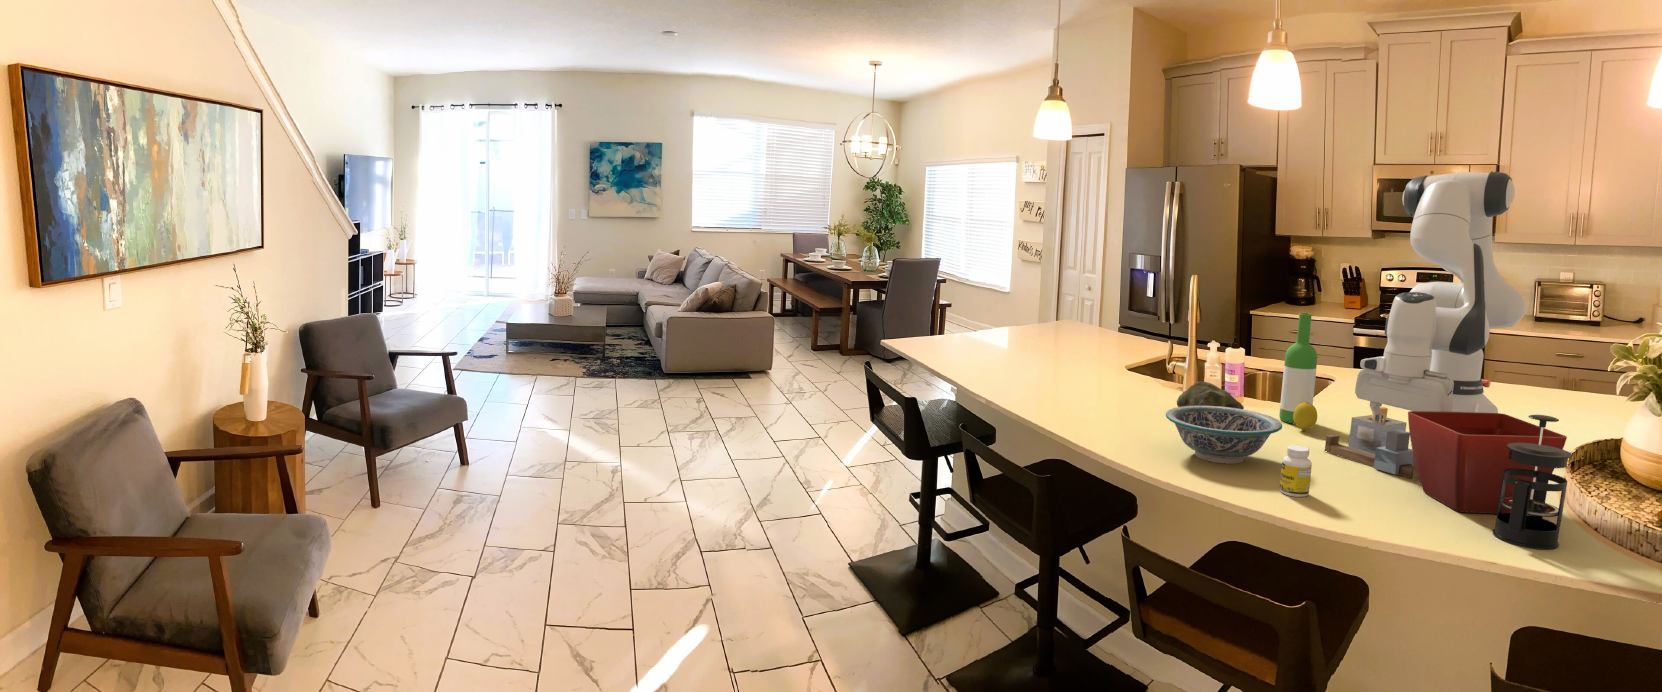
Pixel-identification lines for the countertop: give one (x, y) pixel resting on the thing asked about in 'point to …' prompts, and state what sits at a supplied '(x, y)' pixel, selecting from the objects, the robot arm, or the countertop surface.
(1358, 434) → the grey cube with hole
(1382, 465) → the carriage
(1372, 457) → the rail
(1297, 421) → the lemon
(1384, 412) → the gauge button
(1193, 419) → the bowl
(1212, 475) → the countertop surface
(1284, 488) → the supplement bottle
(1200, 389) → the decorative rock
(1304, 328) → the wine bottle
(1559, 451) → the french press
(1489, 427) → the plant pot
